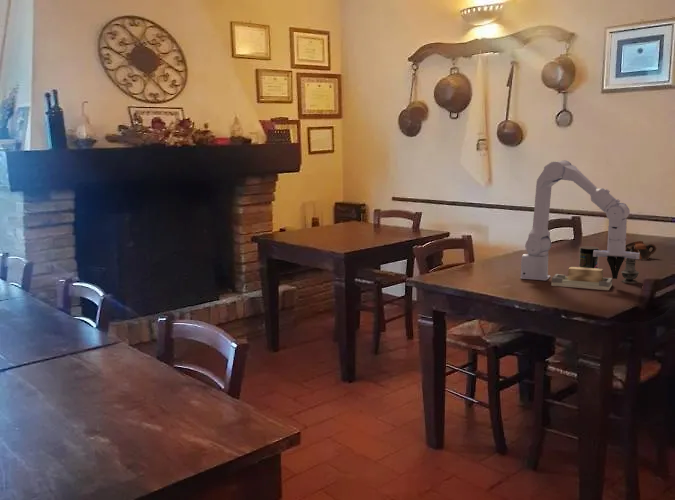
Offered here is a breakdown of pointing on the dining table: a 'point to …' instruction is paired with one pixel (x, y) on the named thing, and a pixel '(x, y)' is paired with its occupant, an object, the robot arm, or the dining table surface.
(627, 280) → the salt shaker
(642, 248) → the pottery mug
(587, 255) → the supplement container
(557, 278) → the cream rectangular tray
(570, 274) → the tan wooden block
